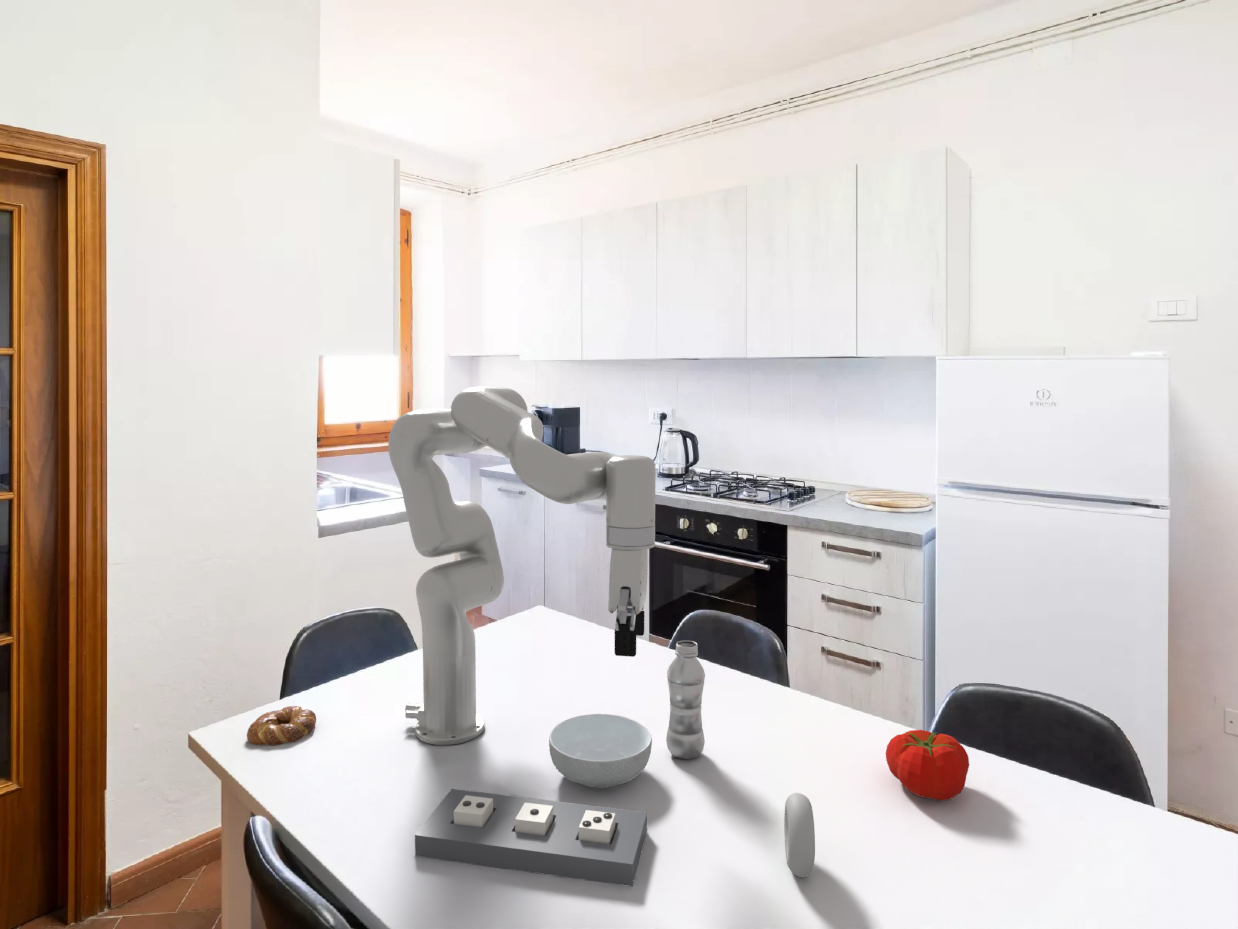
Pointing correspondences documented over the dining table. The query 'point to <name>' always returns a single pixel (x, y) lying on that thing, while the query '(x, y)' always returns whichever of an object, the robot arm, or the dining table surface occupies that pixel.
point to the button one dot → (534, 819)
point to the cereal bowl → (600, 749)
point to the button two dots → (473, 811)
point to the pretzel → (281, 726)
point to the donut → (799, 834)
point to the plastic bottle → (685, 702)
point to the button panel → (535, 840)
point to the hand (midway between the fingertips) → (630, 644)
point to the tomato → (928, 763)
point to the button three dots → (597, 827)
